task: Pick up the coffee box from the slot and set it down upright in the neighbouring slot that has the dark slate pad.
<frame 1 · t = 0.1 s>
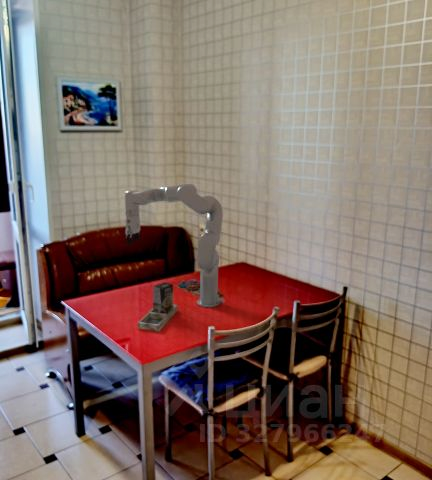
hand: (132, 242, 259), 31 cm above the table, tool pointing down, fingers open, 9 cm apart
coffee box: (163, 314, 239), resting in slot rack
gear puzzle: (200, 291, 276), on the table
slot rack: (158, 319, 233), on the table
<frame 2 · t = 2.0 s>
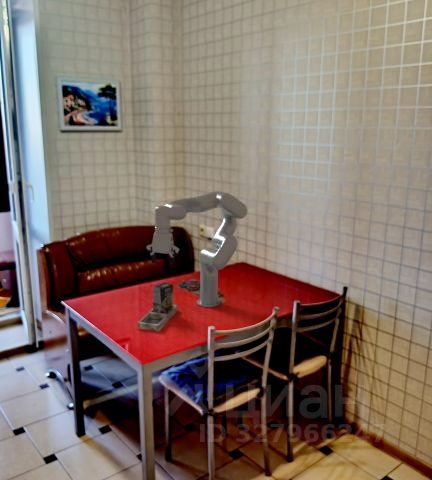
hand: (162, 263, 233), 28 cm above the table, tool pointing down, fingers open, 9 cm apart
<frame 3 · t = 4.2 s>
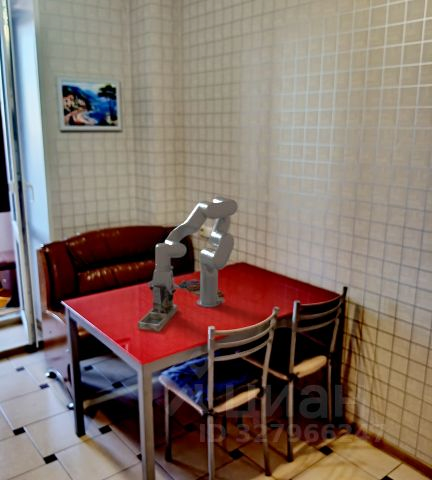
hand: (163, 299, 237), 8 cm above the table, tool pointing down, fingers closed on coffee box, 8 cm apart
coffee box: (163, 314, 239), resting in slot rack, touching gripper
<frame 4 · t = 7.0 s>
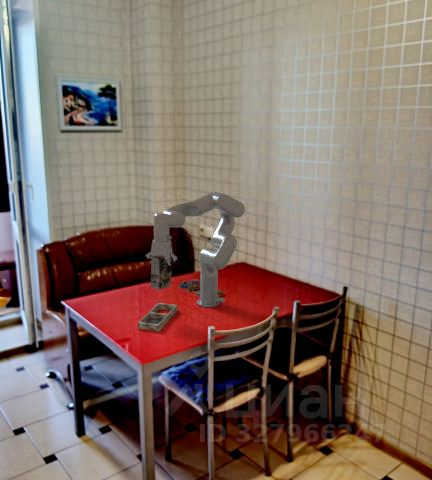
hand: (161, 271, 232), 24 cm above the table, tool pointing down, fingers closed on coffee box, 7 cm apart
coffee box: (160, 287, 234), point 16 cm above the table, touching gripper
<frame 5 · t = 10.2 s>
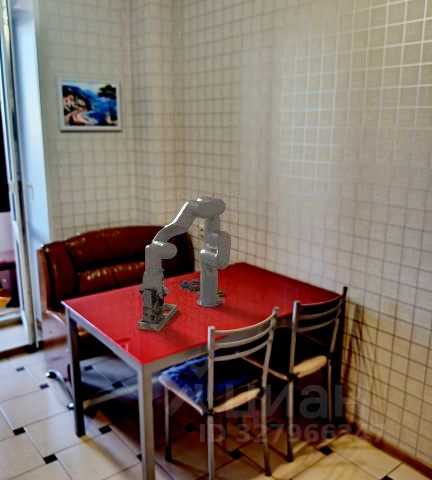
hand: (153, 304, 224), 11 cm above the table, tool pointing down, fingers closed on coffee box, 7 cm apart
coffee box: (153, 319, 226), point 3 cm above the table, touching gripper, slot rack
when the fingers open (10 cm above the table, at t = 11.4 s): coffee box drops 2 cm, resting on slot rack.
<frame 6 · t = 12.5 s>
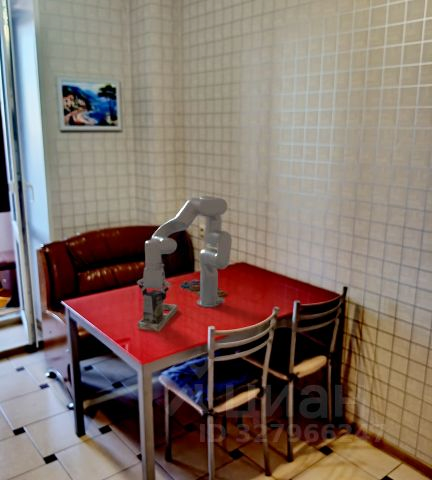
hand: (154, 298, 224), 13 cm above the table, tool pointing down, fingers open, 9 cm apart
coffee box: (153, 323, 227), resting on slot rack
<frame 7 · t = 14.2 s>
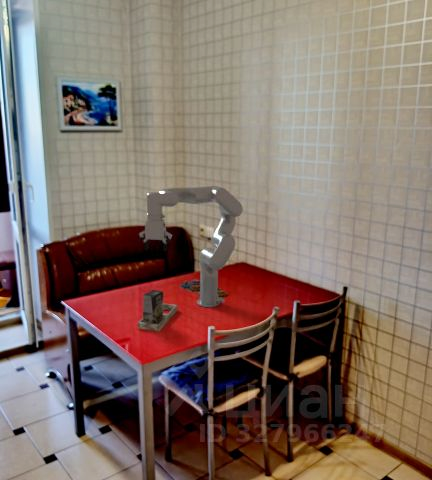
hand: (155, 250, 233), 34 cm above the table, tool pointing down, fingers open, 9 cm apart
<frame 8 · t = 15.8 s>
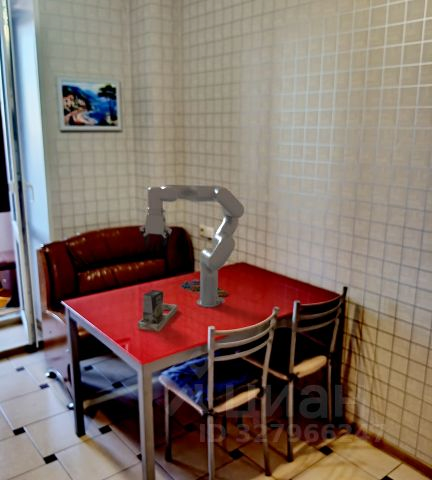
hand: (155, 244, 236), 36 cm above the table, tool pointing down, fingers open, 9 cm apart
at the end: coffee box 0.2 cm from the target spot on the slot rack, point 0.1 cm above the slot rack's base; coffee box tilted 0°; the gripper is holding nothing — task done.
